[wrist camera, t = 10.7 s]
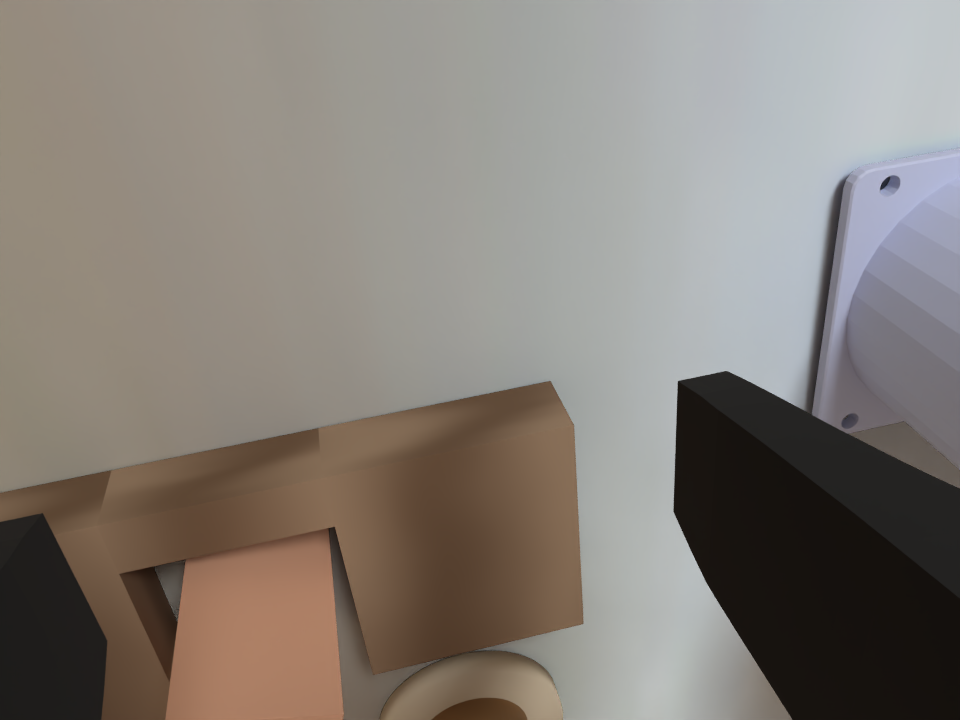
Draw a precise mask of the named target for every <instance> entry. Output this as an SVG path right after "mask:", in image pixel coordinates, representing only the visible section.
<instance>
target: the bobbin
mask: <svg viewBox="0 0 960 720" xmlns="http://www.w3.org/2000/svg"><path fill="white" fill-rule="evenodd" d="M380 720H563V710H562V705H561V702H560V699H559V696H558V693H557V690H556V687H555V684H554V682H553V679H552V677H551V676H550V674H549V673H548V671H547V670H546V669H545V668H544V667H543V666H541V665H540V664H539V663H537V662H536V661H534V660H532V659H530V658H528V657H525V656H522V655H519V654H516V653H511V652H505V651H478V652H470V653H465V654H460V655H456V656H452V657H449V658H446V659H443V660H441V661H438V662H436V663H433V664H431V665H429V666H427V667H425V668H423V669H422V670H420V671H418V672H417V673H415V674H414V675H412V676H411V677H410V678H408V679H407V680H406V681H404V682H403V683H402V684H401V685H400V686H399V687H398V688H397V689H396V690H395V691H394V692H393V694H392V695H391V696H390V697H389V699H388V700H387V702H386V704H385V705H384V708H383V710H382V712H381V716H380Z"/></svg>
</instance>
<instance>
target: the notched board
mask: <svg viewBox="0 0 960 720" xmlns="http://www.w3.org/2000/svg"><path fill="white" fill-rule="evenodd" d="M41 513H43V514H44V516H45V518H46V520H47V522H48V524H49V526H50V528H51V530H52V532H53V534H54V536H55V538H56V540H57V542H58V544H59V546H60V548H61V550H62V552H63V554H64V556H65V558H66V560H67V562H68V564H69V566H70V568H71V570H72V572H73V574H74V576H75V578H76V580H77V582H78V584H79V586H80V587H81V589H82V591H83V593H84V595H85V597H86V599H87V601H88V603H89V605H90V607H91V609H92V611H93V613H94V615H95V617H96V619H97V621H98V623H99V625H100V627H101V629H102V631H103V633H104V635H105V637H106V639H107V656H106V671H105V686H104V697H103V707H102V718H101V720H165V718H166V710H167V702H168V695H169V687H170V679H171V671H172V663H173V656H174V648H175V640H176V632H177V624H178V623H177V621H176V619H175V616H174V614H173V612H172V609H171V607H170V605H169V602H168V600H167V598H166V596H165V593H164V591H163V589H162V586H161V584H160V582H159V579H158V577H157V575H156V572H155V570H154V568H153V566H157V565H162V564H166V563H171V562H176V561H180V560H185V559H189V558H194V557H198V556H203V555H207V554H212V553H217V552H221V551H226V550H230V549H235V548H239V547H244V546H249V545H253V544H258V543H262V542H267V541H271V540H276V539H281V538H285V537H290V536H294V535H299V534H303V533H308V532H312V531H317V530H322V529H326V528H331V527H335V529H336V533H337V537H338V541H339V545H340V549H341V553H342V556H343V560H344V564H345V568H346V572H347V576H348V580H349V583H350V587H351V591H352V595H353V599H354V603H355V607H356V610H357V614H358V618H359V622H360V626H361V630H362V634H363V638H364V641H365V645H366V649H367V653H368V657H369V661H370V665H371V668H372V672H373V675H375V674H379V673H383V672H387V671H392V670H396V669H400V668H404V667H408V666H412V665H416V664H420V663H424V662H429V661H433V660H437V659H441V658H445V657H449V656H453V655H457V654H461V653H466V652H470V651H474V650H478V649H482V648H486V647H490V646H494V645H498V644H503V643H507V642H511V641H515V640H519V639H523V638H527V637H531V636H535V635H540V634H544V633H548V632H552V631H556V630H560V629H564V628H568V627H572V626H577V625H581V624H583V604H582V583H581V562H580V542H579V521H578V500H577V479H576V458H575V437H574V424H573V422H572V421H571V419H570V417H569V415H568V413H567V411H566V409H565V407H564V406H563V404H562V402H561V400H560V398H559V396H558V394H557V392H556V391H555V389H554V387H553V385H552V383H551V381H548V382H543V383H538V384H533V385H529V386H524V387H519V388H514V389H509V390H504V391H499V392H494V393H489V394H484V395H479V396H475V397H470V398H465V399H460V400H455V401H450V402H445V403H440V404H435V405H430V406H425V407H420V408H416V409H411V410H406V411H401V412H396V413H391V414H386V415H381V416H376V417H371V418H366V419H361V420H357V421H352V422H347V423H342V424H337V425H332V426H327V427H322V428H317V429H312V430H307V431H303V432H298V433H293V434H288V435H283V436H278V437H273V438H268V439H263V440H258V441H253V442H248V443H244V444H239V445H234V446H229V447H224V448H219V449H214V450H209V451H204V452H199V453H194V454H190V455H185V456H180V457H175V458H170V459H165V460H160V461H155V462H150V463H145V464H140V465H135V466H131V467H126V468H121V469H116V470H111V471H106V472H101V473H96V474H91V475H86V476H81V477H76V478H72V479H67V480H62V481H57V482H52V483H47V484H42V485H37V486H32V487H27V488H22V489H18V490H13V491H8V492H3V493H0V522H2V521H7V520H12V519H17V518H21V517H26V516H31V515H36V514H41Z"/></svg>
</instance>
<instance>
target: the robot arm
mask: <svg viewBox="0 0 960 720" xmlns="http://www.w3.org/2000/svg"><path fill="white" fill-rule="evenodd" d="M889 176H890V180H889V183H888V185H887V186H886V187H885V188H884V189H882V190H880V187H881V184H882V182H883V181H884V180H885V179H886V178H887V177H889ZM847 415H849V416H848V417H847V418H846V419H844V418H845V417H846V416H847ZM843 419H844V420H843ZM903 421H905V422H906V423H907V424H908V425H909V426H911V427H912V428H913V429H914V430H915V431H916V432H917V433H919V434H920V435H921V436H922V437H923V438H924V439H925V440H926V441H928V442H929V443H930V444H931V445H932V446H933V447H934V448H936V449H937V450H938V451H939V452H940V453H941V454H942V455H943V456H945V457H946V458H947V459H948V460H949V461H950V462H951V463H952V464H954V465H955V466H956V467H957V468H958V469H959V470H960V148H956V149H951V150H945V151H939V152H934V153H928V154H923V155H917V156H911V157H906V158H900V159H895V160H889V161H883V162H878V163H872V164H867V165H863V166H861V167H858V168H857V169H855V170H854V171H853V172H852V173H851V174H850V175H849V177H848V178H847V180H846V182H845V185H844V188H843V195H842V202H841V210H840V217H839V224H838V231H837V238H836V245H835V252H834V260H833V267H832V274H831V281H830V288H829V295H828V302H827V310H826V317H825V324H824V331H823V338H822V345H821V352H820V359H819V367H818V374H817V381H816V388H815V395H814V402H813V409H812V415H811V414H809V413H807V412H806V411H804V410H802V409H800V408H798V407H796V406H794V405H792V404H791V403H789V402H787V401H785V400H783V399H781V398H779V397H777V396H776V395H774V394H772V393H770V392H768V391H766V390H764V389H762V388H760V387H758V386H756V385H754V384H753V383H751V382H749V381H747V380H745V379H743V378H740V377H738V376H736V375H734V374H732V373H730V372H727V371H724V372H720V373H715V374H710V375H705V376H700V377H696V378H691V379H686V380H681V381H678V395H677V424H676V454H675V484H674V514H675V516H676V518H677V520H678V522H679V525H680V527H681V529H682V531H683V534H684V536H685V538H686V540H687V543H688V545H689V547H690V549H691V551H692V553H693V556H694V558H695V560H696V562H697V564H698V566H699V568H700V570H701V572H702V574H703V576H704V578H705V580H706V583H707V584H708V586H709V588H710V589H711V591H712V593H713V594H714V596H715V598H716V599H717V601H718V602H719V604H720V606H721V607H722V609H723V610H724V612H725V614H726V615H727V617H728V618H729V620H730V622H731V623H732V625H733V626H734V628H735V630H736V631H737V633H738V634H739V636H740V638H741V639H742V641H743V642H744V644H745V646H746V647H747V649H748V650H749V652H750V653H751V655H752V657H753V658H754V660H755V661H756V663H757V664H758V666H759V668H760V669H761V671H762V672H763V674H764V675H765V677H766V679H767V680H768V682H769V683H770V685H771V686H772V688H773V690H774V691H775V693H776V694H777V696H778V697H779V699H780V701H781V702H782V704H783V705H784V707H785V708H786V710H787V712H788V713H789V715H790V716H791V718H792V719H793V720H960V489H959V488H957V487H955V486H953V485H951V484H948V483H946V482H944V481H942V480H939V479H937V478H935V477H933V476H931V475H929V474H927V473H925V472H923V471H921V470H919V469H917V468H914V467H912V466H910V465H908V464H906V463H904V462H902V461H900V460H898V459H896V458H894V457H892V456H890V455H888V454H886V453H884V452H882V451H880V450H878V449H876V448H874V447H872V446H870V445H868V444H866V443H864V442H863V441H861V440H859V439H857V438H855V437H853V436H851V435H849V434H850V433H854V432H859V431H863V430H867V429H872V428H876V427H881V426H885V425H890V424H894V423H899V422H903ZM106 656H107V639H106V637H105V635H104V633H103V631H102V629H101V627H100V625H99V623H98V621H97V619H96V617H95V615H94V613H93V611H92V609H91V607H90V605H89V603H88V601H87V599H86V597H85V595H84V593H83V591H82V589H81V587H80V586H79V584H78V582H77V580H76V578H75V576H74V574H73V572H72V570H71V568H70V566H69V564H68V562H67V560H66V558H65V556H64V554H63V552H62V550H61V548H60V546H59V544H58V542H57V540H56V538H55V536H54V534H53V532H52V530H51V528H50V526H49V524H48V522H47V520H46V518H45V516H44V514H43V513H41V514H36V515H31V516H26V517H21V518H17V519H12V520H7V521H2V522H0V720H101V718H102V707H103V697H104V686H105V671H106Z"/></svg>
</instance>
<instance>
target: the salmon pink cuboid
mask: <svg viewBox="0 0 960 720" xmlns="http://www.w3.org/2000/svg"><path fill="white" fill-rule="evenodd" d="M343 716H344V711H343V699H342V686H341V674H340V662H339V650H338V637H337V625H336V613H335V601H334V588H333V576H332V564H331V552H330V539H329V528H326V529H322V530H317V531H312V532H308V533H303V534H299V535H294V536H290V537H285V538H281V539H276V540H271V541H267V542H262V543H258V544H253V545H249V546H244V547H239V548H235V549H230V550H226V551H221V552H217V553H212V554H207V555H203V556H198V557H194V558H189V559H186V562H185V569H184V577H183V585H182V593H181V601H180V609H179V616H178V624H177V632H176V640H175V648H174V656H173V663H172V671H171V679H170V687H169V695H168V702H167V710H166V718H165V720H343Z"/></svg>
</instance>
